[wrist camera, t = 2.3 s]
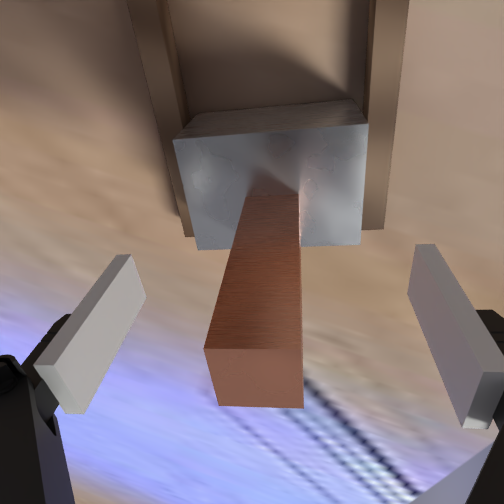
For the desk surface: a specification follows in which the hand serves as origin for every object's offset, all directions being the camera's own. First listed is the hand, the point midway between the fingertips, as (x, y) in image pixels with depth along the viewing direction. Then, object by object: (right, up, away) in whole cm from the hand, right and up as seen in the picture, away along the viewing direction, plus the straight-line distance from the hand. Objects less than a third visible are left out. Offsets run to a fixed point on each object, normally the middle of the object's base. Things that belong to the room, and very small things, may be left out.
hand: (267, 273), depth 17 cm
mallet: (+1, +8, +8) cm, 11 cm away
